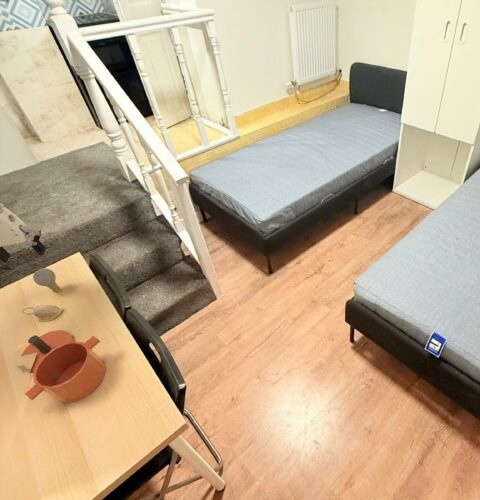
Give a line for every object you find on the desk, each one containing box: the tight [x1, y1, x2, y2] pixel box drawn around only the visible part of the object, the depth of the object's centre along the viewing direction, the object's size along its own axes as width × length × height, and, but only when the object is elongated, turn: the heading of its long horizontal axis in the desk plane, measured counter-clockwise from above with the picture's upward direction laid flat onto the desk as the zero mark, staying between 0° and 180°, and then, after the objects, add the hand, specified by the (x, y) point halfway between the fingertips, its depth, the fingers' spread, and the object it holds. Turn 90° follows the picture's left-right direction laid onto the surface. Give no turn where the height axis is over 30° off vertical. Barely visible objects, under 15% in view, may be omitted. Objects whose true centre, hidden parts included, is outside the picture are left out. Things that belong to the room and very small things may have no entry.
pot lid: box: [21, 329, 74, 374], centre depth 93 cm, size 13×13×7 cm
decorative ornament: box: [21, 304, 64, 322], centre depth 102 cm, size 4×8×5 cm, turn 99°
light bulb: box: [32, 267, 61, 293], centre depth 108 cm, size 5×6×10 cm
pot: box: [24, 335, 106, 403], centre depth 86 cm, size 12×18×8 cm
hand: (25, 255), depth 99 cm, fingers open, 9 cm apart
